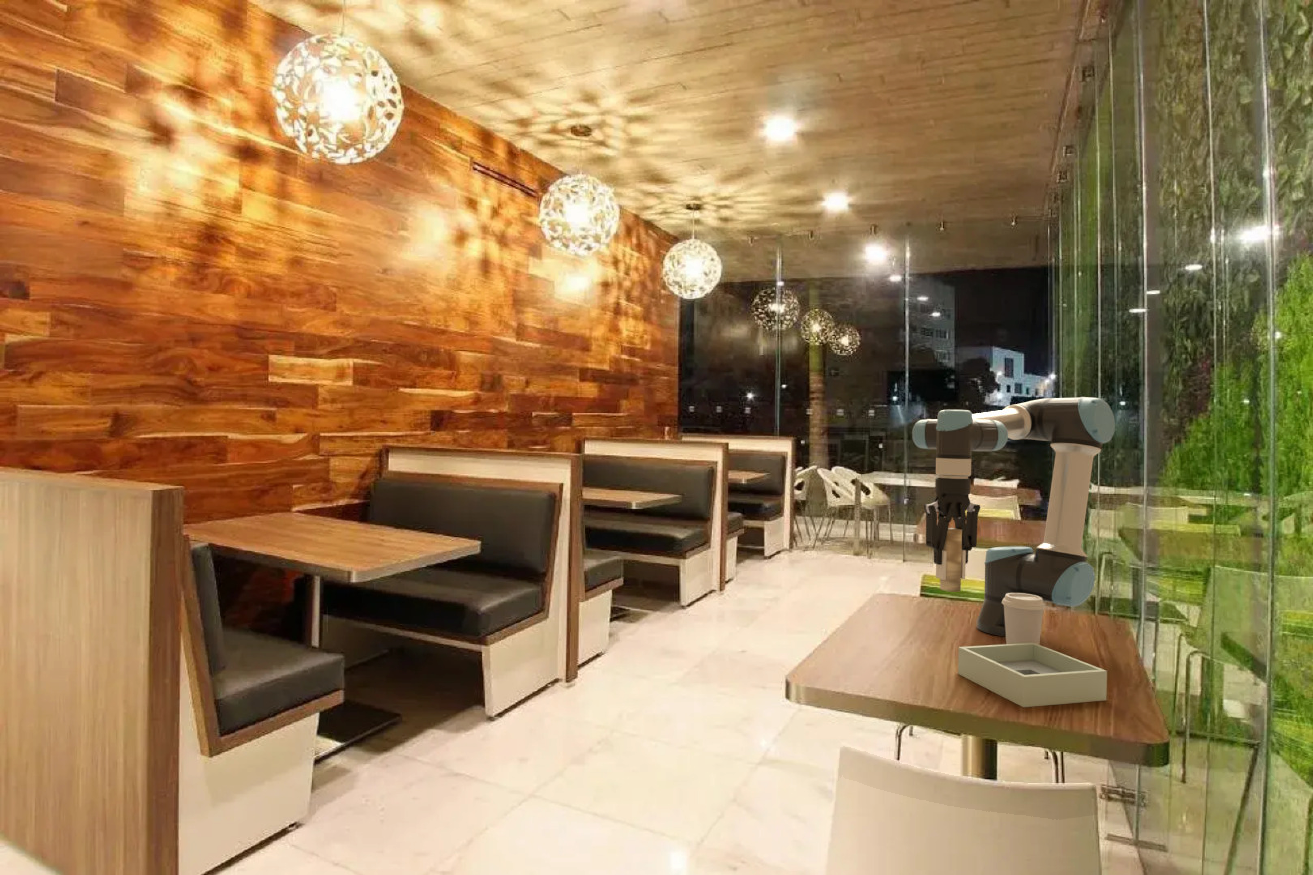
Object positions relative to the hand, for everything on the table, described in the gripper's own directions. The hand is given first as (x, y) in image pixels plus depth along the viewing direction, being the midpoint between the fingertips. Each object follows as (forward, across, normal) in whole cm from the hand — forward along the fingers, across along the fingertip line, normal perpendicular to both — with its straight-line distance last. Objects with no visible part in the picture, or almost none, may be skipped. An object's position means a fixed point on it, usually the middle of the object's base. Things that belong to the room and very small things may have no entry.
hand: (950, 577), depth 169 cm
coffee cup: (+21, -22, -2) cm, 30 cm away
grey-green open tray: (+20, -9, +15) cm, 27 cm away
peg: (+3, 0, 0) cm, 3 cm away
